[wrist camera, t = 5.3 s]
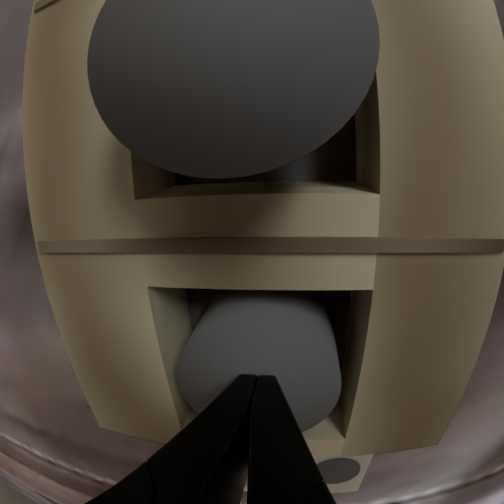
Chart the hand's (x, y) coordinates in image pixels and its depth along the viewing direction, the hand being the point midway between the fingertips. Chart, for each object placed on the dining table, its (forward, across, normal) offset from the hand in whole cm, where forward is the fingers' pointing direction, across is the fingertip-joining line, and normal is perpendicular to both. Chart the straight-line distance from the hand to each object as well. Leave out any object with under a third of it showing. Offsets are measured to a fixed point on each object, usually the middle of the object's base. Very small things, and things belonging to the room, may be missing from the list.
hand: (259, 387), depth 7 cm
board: (+3, 0, -7) cm, 7 cm away
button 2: (+3, 0, 0) cm, 3 cm away
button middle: (+1, 0, -7) cm, 7 cm away
